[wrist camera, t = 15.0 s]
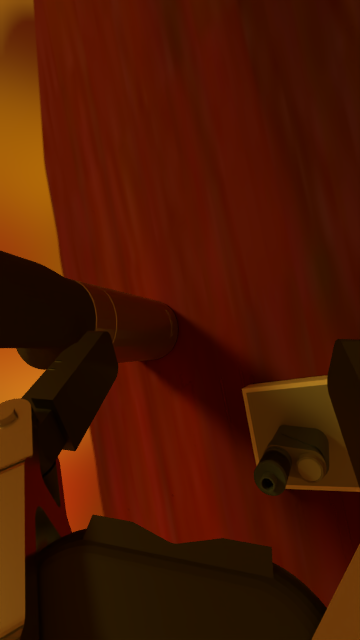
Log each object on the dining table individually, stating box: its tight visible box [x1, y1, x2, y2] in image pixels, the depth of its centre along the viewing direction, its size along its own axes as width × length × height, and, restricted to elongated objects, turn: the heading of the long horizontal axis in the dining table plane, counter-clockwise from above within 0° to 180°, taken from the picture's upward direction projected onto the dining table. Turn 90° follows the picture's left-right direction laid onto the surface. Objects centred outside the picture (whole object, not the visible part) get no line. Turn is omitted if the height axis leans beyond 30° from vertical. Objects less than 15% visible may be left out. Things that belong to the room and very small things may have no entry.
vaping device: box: [254, 425, 329, 496], centre depth 25 cm, size 3×5×12 cm, turn 88°
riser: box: [242, 375, 360, 492], centre depth 32 cm, size 11×11×4 cm
